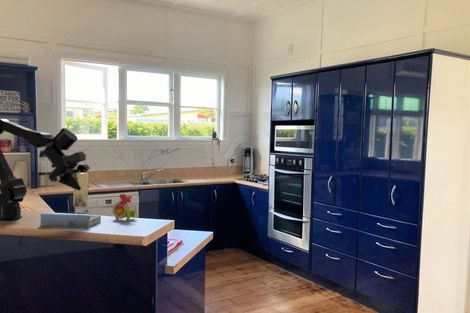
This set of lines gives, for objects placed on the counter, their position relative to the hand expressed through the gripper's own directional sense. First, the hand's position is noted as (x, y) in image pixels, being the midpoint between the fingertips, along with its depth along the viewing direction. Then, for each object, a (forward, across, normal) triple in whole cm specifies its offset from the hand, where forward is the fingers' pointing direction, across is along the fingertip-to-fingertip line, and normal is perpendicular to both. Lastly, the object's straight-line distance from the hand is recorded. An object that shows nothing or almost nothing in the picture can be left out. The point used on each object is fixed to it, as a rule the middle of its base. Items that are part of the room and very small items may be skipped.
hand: (84, 189), depth 145 cm
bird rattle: (+17, +12, +2) cm, 21 cm away
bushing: (+4, 0, +6) cm, 7 cm away
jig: (+6, -1, +12) cm, 14 cm away
